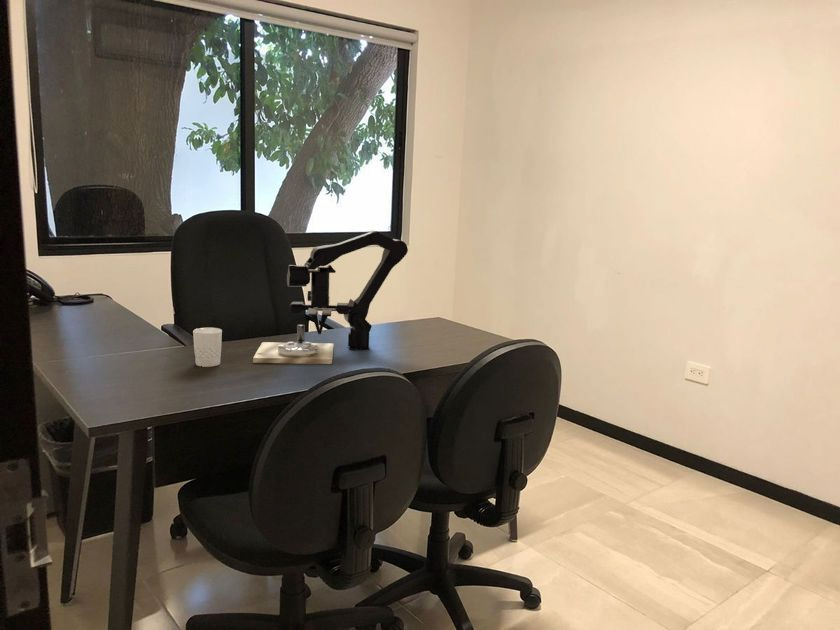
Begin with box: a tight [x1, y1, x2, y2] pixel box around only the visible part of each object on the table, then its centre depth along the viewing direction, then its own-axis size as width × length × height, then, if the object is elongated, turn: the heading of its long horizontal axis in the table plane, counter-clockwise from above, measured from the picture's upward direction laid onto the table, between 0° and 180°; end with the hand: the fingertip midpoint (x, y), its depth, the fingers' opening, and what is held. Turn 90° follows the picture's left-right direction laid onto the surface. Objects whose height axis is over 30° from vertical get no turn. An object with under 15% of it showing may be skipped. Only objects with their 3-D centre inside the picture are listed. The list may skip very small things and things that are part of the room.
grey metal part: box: [278, 324, 318, 357], centre depth 201 cm, size 18×12×6 cm, turn 6°
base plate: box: [252, 341, 334, 365], centre depth 201 cm, size 23×20×2 cm
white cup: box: [192, 327, 223, 368], centre depth 186 cm, size 8×8×10 cm
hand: (319, 334), depth 209 cm, fingers closed
